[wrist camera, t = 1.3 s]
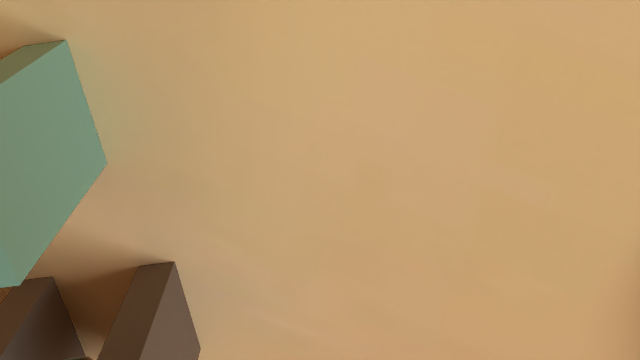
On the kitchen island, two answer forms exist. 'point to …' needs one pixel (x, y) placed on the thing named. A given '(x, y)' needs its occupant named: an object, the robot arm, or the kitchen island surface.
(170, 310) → the domino
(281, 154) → the kitchen island surface
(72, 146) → the domino
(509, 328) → the kitchen island surface
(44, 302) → the domino
